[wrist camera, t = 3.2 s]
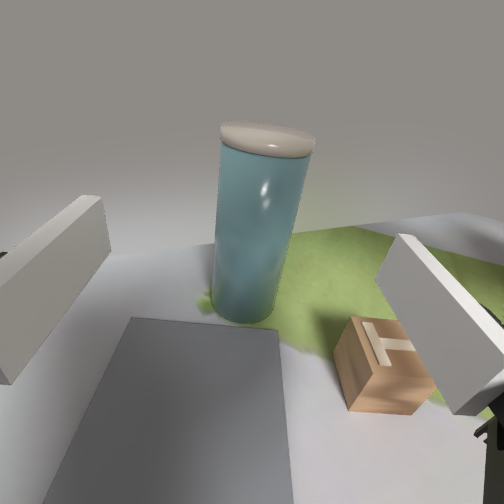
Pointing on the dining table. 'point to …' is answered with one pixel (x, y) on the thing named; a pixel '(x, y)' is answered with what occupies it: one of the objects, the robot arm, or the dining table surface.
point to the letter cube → (380, 368)
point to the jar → (255, 214)
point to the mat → (183, 421)
